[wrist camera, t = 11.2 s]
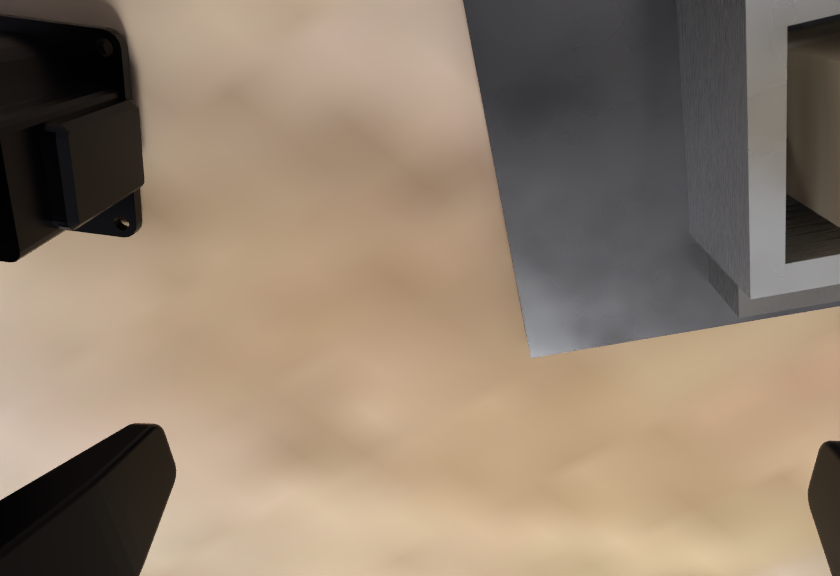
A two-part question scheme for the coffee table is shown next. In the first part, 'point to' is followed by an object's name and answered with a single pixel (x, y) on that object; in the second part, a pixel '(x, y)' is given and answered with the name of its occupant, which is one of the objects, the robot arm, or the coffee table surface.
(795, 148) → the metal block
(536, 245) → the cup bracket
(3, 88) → the robot arm
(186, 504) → the coffee table surface
